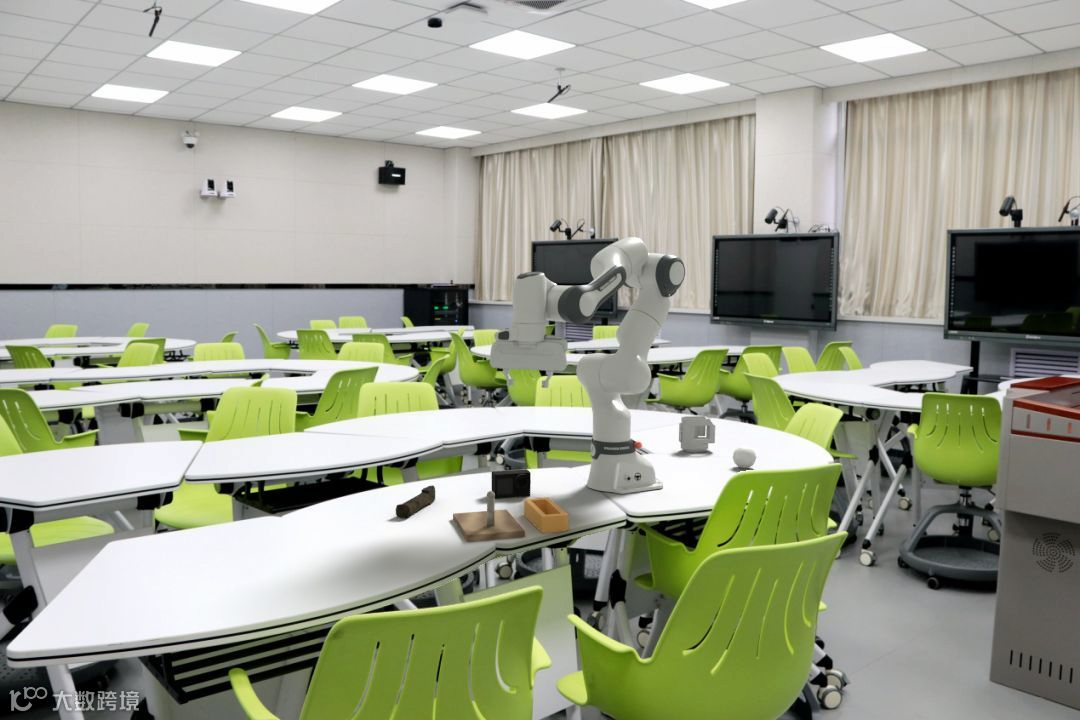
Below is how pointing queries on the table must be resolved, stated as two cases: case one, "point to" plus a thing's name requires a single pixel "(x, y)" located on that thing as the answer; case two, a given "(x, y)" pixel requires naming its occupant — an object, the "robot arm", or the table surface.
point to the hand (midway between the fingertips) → (527, 386)
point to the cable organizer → (696, 433)
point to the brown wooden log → (416, 502)
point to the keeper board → (485, 532)
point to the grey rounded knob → (744, 457)
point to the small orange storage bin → (553, 518)
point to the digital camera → (511, 483)
